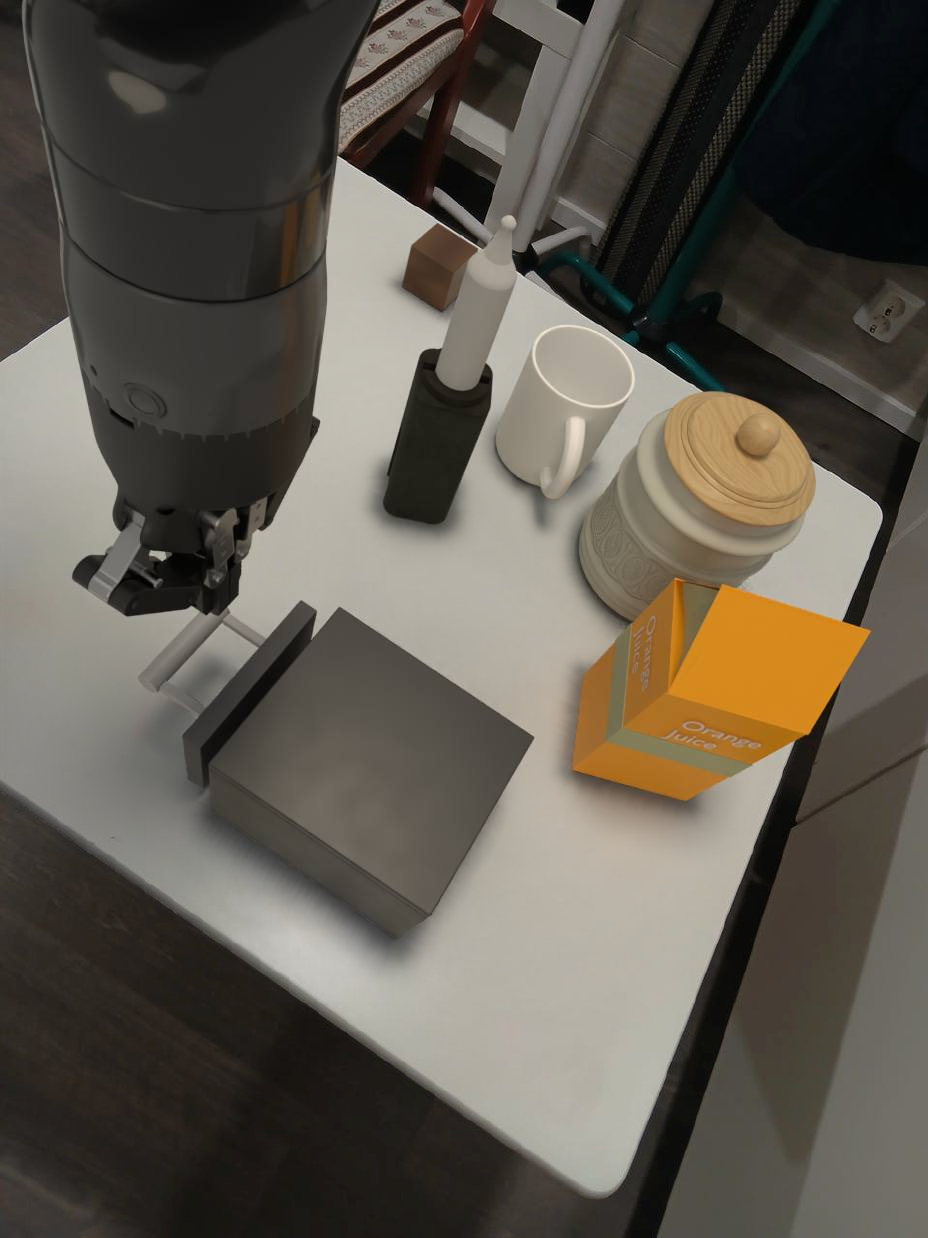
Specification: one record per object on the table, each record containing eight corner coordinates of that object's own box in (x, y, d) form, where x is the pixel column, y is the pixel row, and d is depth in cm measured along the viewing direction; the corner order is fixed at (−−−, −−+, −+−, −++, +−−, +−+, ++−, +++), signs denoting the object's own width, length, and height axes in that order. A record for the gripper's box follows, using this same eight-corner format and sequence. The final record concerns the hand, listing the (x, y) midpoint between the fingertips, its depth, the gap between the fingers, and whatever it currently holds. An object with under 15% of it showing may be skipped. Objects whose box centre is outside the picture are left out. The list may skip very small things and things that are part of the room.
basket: (121, 733, 49) (105, 683, 43) (231, 614, 55) (232, 553, 48) (358, 897, 48) (379, 872, 42) (446, 759, 54) (478, 718, 47)
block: (401, 286, 75) (410, 244, 71) (426, 263, 77) (437, 221, 73) (441, 312, 75) (453, 272, 71) (466, 288, 77) (478, 248, 73)
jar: (733, 640, 66) (885, 515, 51) (584, 628, 62) (697, 492, 47) (704, 507, 72) (831, 361, 57) (566, 490, 68) (662, 331, 53)
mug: (585, 536, 67) (640, 457, 58) (488, 516, 65) (529, 433, 56) (583, 425, 73) (633, 338, 64) (494, 405, 71) (532, 313, 62)
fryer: (211, 811, 49) (207, 763, 41) (322, 672, 55) (339, 605, 47) (396, 939, 49) (430, 916, 40) (489, 784, 55) (535, 736, 46)
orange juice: (582, 673, 61) (722, 524, 43) (691, 705, 62) (868, 571, 45) (570, 772, 57) (718, 650, 40) (686, 804, 58) (879, 699, 41)
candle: (445, 527, 64) (555, 260, 42) (381, 514, 63) (460, 234, 41) (450, 475, 66) (556, 199, 45) (388, 462, 65) (467, 173, 44)
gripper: (238, 187, 30) (234, 476, 44) (-63, 387, 23) (51, 650, 38) (409, 297, 29) (347, 551, 44) (154, 533, 22) (183, 741, 37)
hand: (211, 596), depth 41 cm, fingers closed
